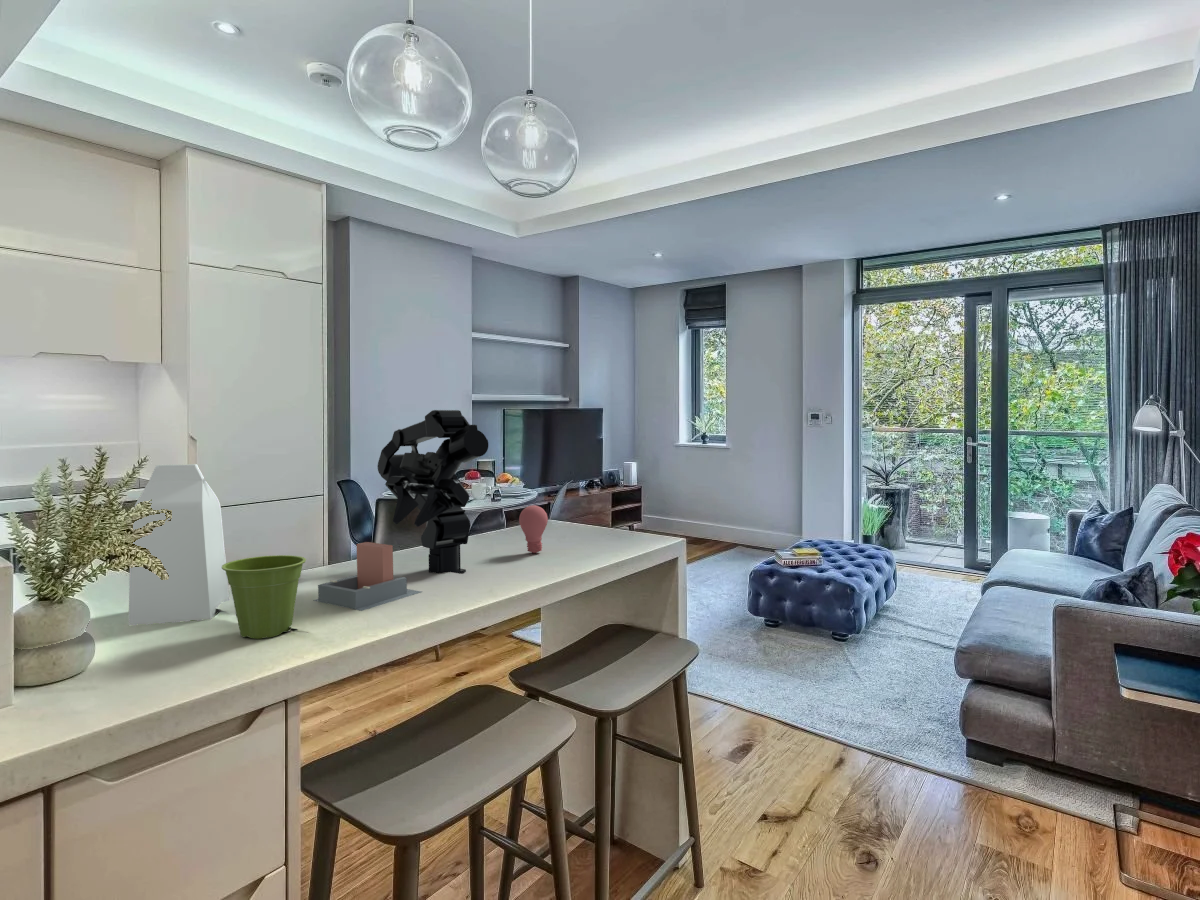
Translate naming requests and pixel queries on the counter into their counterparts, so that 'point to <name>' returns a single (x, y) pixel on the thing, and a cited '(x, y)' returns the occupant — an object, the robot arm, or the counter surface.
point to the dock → (362, 593)
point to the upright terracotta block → (374, 563)
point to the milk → (180, 550)
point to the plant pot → (264, 593)
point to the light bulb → (533, 526)
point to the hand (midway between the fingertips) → (405, 524)
